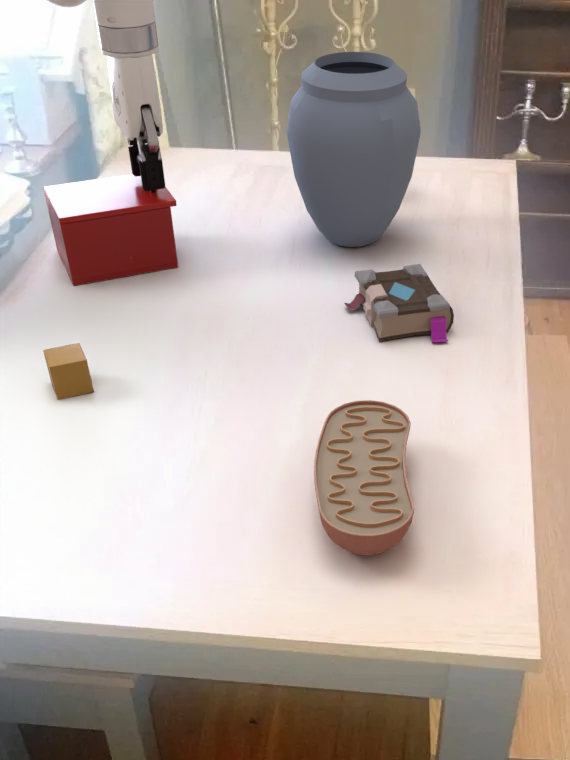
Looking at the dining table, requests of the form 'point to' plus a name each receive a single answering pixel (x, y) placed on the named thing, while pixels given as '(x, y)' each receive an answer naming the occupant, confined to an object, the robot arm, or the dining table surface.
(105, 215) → the red box lid
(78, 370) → the brass block
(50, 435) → the dining table surface
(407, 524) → the anatomical model
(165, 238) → the red open box
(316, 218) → the vase
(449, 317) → the book
